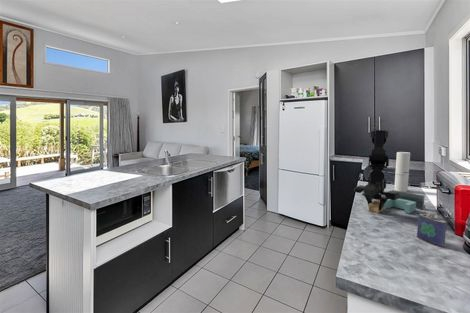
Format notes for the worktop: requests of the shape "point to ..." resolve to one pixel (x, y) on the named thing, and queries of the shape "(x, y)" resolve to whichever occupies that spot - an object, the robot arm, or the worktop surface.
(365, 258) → the worktop surface
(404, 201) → the slot block
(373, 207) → the oak peg
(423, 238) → the flask
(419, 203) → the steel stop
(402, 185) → the cylindrical container
